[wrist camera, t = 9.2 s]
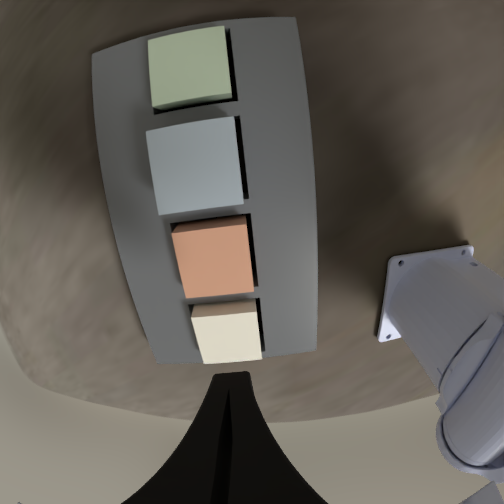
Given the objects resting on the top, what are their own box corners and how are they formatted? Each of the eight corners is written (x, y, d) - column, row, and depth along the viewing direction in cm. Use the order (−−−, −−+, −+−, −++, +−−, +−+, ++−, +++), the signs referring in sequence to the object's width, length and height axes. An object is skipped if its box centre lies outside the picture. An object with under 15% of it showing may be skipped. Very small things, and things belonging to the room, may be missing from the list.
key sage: (226, 43, 13) (223, 25, 10) (232, 101, 15) (231, 92, 12) (162, 55, 13) (147, 40, 10) (166, 112, 15) (152, 106, 12)
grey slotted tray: (289, 29, 13) (295, 17, 11) (310, 333, 21) (316, 350, 19) (105, 61, 13) (91, 54, 11) (162, 347, 21) (157, 363, 19)
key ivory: (254, 287, 19) (256, 311, 16) (259, 332, 21) (262, 359, 18) (197, 293, 19) (190, 317, 16) (207, 337, 21) (203, 363, 18)
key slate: (234, 121, 14) (233, 116, 11) (242, 192, 15) (243, 204, 13) (162, 133, 14) (145, 131, 11) (173, 202, 15) (158, 215, 13)
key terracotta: (245, 210, 17) (246, 224, 14) (252, 269, 19) (254, 291, 16) (182, 218, 17) (171, 233, 14) (193, 275, 19) (186, 298, 16)
